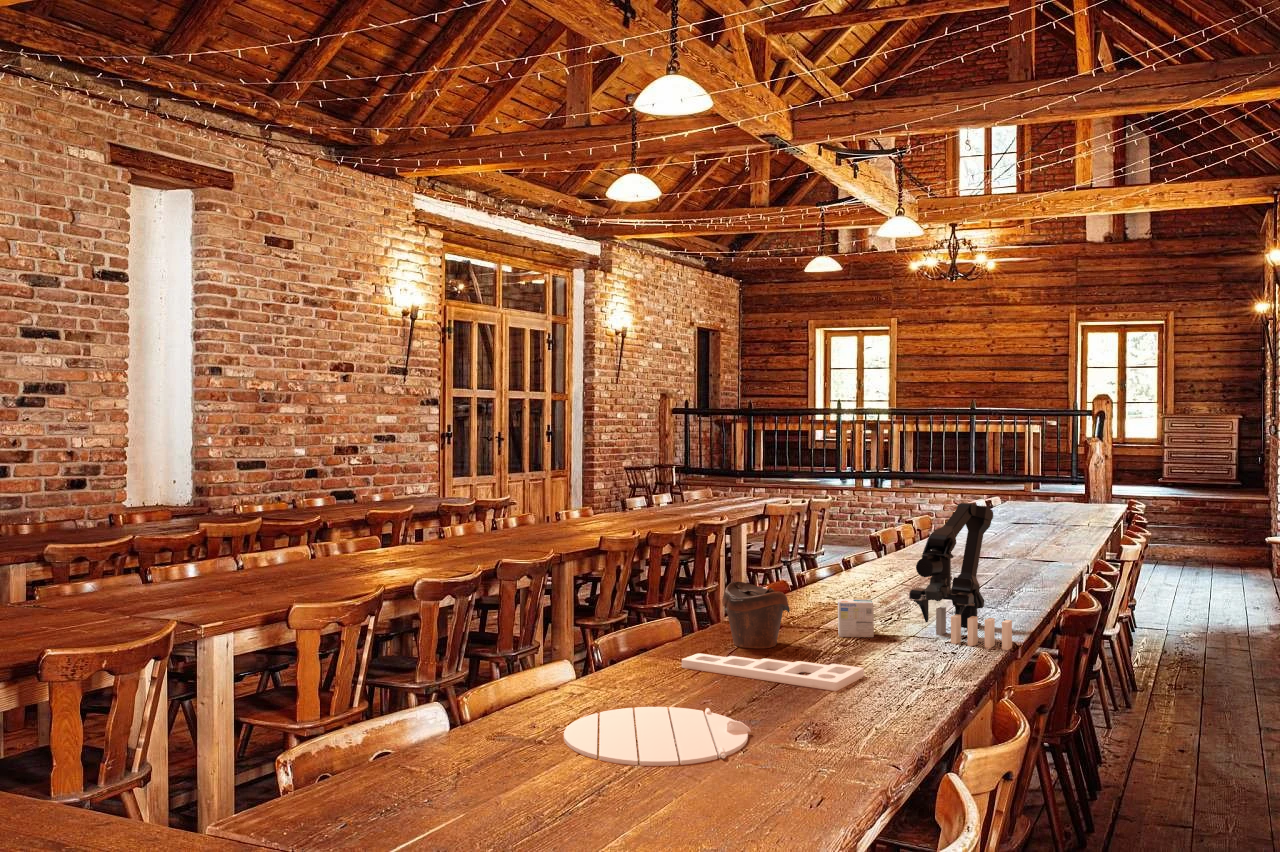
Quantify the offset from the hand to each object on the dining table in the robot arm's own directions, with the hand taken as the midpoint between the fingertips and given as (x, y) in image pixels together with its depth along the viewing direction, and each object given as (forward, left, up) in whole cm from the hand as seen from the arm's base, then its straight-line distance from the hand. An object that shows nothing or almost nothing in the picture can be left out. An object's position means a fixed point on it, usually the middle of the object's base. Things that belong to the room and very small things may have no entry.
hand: (941, 623), depth 334 cm
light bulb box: (+17, -21, -3) cm, 27 cm away
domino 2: (+10, +8, -3) cm, 13 cm away
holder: (+73, -21, -4) cm, 76 cm away
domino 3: (+10, +13, -3) cm, 17 cm away
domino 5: (+10, +23, -3) cm, 25 cm away
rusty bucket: (+46, -40, -3) cm, 61 cm away
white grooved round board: (+137, -14, -4) cm, 138 cm away
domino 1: (0, 0, -3) cm, 3 cm away
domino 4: (+10, +18, -3) cm, 21 cm away
